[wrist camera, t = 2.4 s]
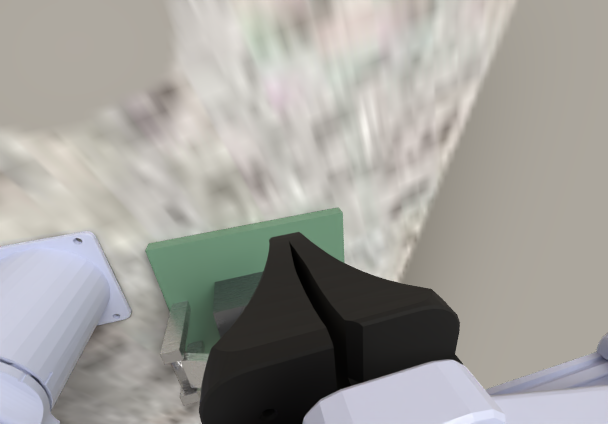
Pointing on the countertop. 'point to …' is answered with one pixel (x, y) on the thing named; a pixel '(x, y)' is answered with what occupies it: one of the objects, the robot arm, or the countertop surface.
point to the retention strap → (190, 370)
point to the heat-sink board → (224, 277)
